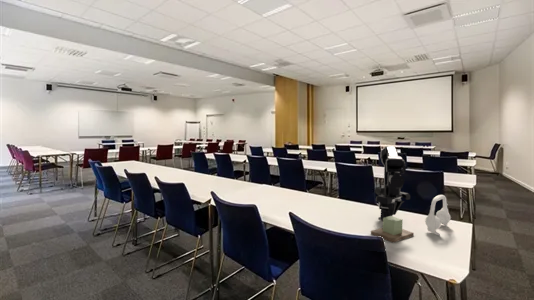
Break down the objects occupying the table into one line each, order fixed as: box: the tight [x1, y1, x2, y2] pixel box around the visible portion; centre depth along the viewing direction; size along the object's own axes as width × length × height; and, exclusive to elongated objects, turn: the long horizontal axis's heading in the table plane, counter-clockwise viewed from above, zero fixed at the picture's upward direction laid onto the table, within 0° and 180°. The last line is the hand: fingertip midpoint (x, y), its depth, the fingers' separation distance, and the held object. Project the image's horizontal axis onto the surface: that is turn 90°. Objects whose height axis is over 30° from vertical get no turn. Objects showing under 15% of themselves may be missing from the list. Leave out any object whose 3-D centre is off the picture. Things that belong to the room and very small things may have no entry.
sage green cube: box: [382, 215, 403, 235], centre depth 129 cm, size 6×6×7 cm
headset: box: [425, 194, 452, 236], centre depth 137 cm, size 20×7×18 cm, turn 129°
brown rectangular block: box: [370, 227, 415, 243], centre depth 130 cm, size 16×12×7 cm
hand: (392, 214), depth 129 cm, fingers closed
